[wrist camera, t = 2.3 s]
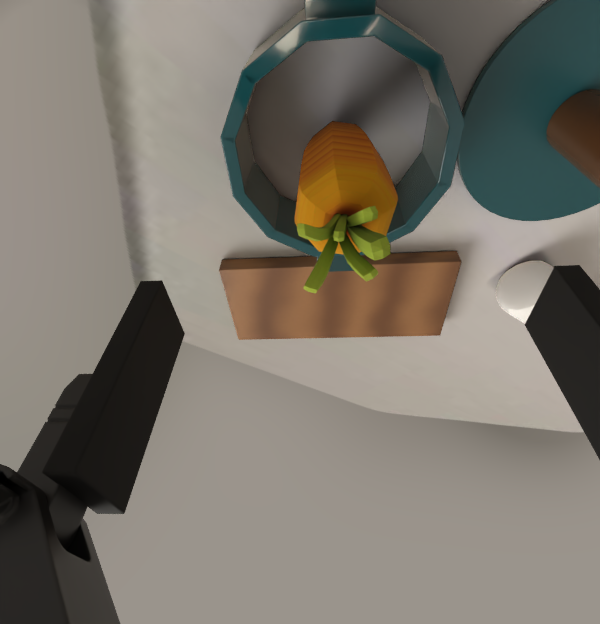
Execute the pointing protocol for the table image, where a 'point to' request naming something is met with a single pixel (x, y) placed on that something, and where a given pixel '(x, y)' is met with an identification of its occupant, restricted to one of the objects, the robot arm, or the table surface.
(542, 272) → the unicorn horn
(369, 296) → the board
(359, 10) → the pot
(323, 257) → the carrot
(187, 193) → the table surface
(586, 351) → the robot arm
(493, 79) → the lid
